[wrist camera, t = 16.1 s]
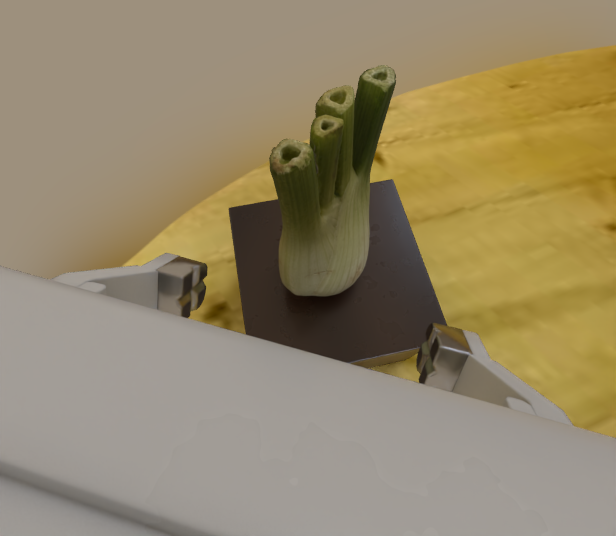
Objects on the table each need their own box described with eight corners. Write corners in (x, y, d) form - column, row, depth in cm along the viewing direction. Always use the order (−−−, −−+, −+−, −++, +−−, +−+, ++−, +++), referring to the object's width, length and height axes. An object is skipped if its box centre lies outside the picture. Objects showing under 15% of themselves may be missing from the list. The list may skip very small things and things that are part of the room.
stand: (371, 239, 32) (392, 178, 24) (410, 362, 28) (453, 341, 20) (249, 261, 32) (228, 207, 23) (269, 393, 27) (252, 384, 19)
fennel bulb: (348, 220, 23) (386, 37, 12) (382, 284, 21) (463, 140, 10) (265, 249, 22) (223, 82, 11) (293, 319, 20) (276, 203, 9)
